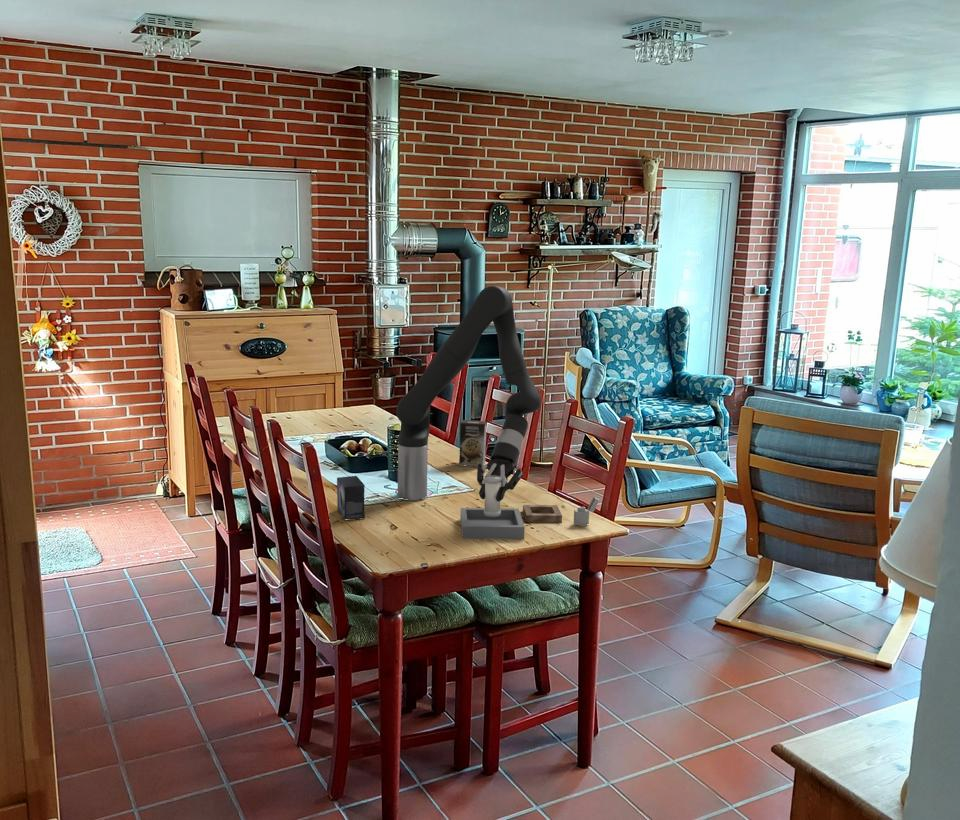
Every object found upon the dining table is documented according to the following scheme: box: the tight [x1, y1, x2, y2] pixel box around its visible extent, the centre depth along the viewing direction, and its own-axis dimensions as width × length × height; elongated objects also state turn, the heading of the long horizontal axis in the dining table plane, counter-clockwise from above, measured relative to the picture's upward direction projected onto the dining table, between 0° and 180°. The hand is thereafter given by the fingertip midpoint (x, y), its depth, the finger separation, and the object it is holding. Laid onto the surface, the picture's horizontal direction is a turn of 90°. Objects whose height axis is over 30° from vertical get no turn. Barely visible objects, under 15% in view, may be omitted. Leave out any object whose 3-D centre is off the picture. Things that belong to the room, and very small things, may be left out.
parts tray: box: [460, 507, 526, 540], centre depth 252 cm, size 17×17×4 cm
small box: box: [336, 475, 366, 520], centre depth 261 cm, size 11×6×10 cm, turn 21°
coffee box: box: [458, 419, 487, 467], centre depth 322 cm, size 9×6×16 cm
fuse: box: [484, 474, 502, 517], centre depth 250 cm, size 5×5×11 cm
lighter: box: [573, 496, 600, 526], centre depth 258 cm, size 7×2×8 cm, turn 105°
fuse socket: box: [522, 504, 563, 523], centre depth 265 cm, size 10×10×2 cm
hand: (489, 498), depth 249 cm, fingers closed on fuse, 4 cm apart
